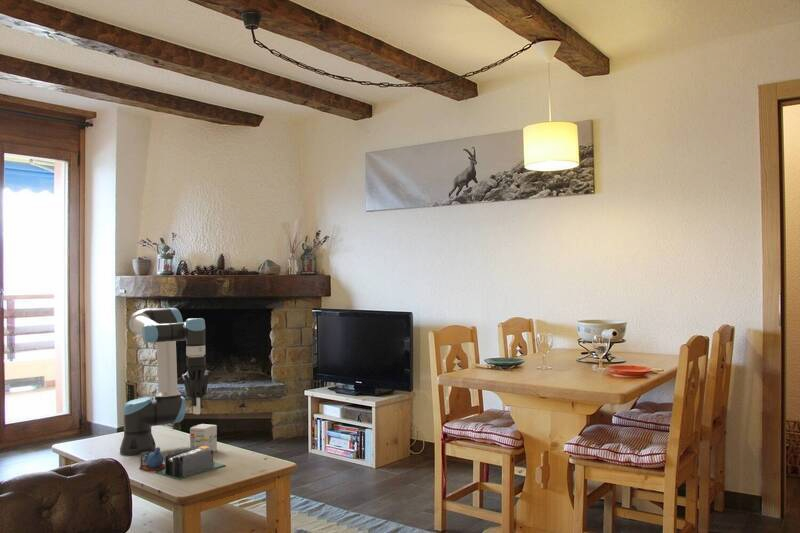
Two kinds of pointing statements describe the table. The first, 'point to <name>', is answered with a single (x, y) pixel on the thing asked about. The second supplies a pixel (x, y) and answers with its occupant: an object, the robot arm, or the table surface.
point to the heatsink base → (189, 463)
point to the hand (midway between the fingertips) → (196, 413)
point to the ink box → (204, 436)
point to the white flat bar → (190, 452)
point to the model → (152, 461)
